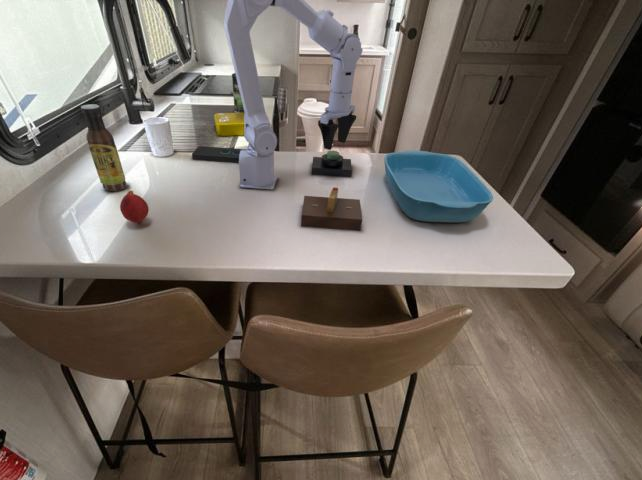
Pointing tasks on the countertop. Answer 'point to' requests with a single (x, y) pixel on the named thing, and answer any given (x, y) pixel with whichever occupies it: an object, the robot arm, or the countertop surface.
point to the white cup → (159, 136)
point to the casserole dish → (435, 187)
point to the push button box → (331, 166)
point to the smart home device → (217, 154)
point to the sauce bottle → (103, 150)
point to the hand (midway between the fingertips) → (334, 145)
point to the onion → (134, 207)
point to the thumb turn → (332, 199)
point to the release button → (332, 155)
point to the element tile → (229, 124)
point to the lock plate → (331, 213)
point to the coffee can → (237, 96)
